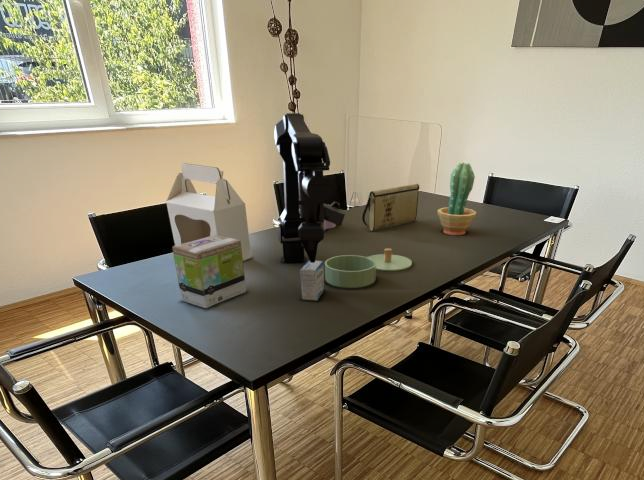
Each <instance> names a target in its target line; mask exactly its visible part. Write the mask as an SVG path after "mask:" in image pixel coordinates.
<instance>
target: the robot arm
mask: <svg viewBox="0 0 644 480" xmlns="http://www.w3.org/2000/svg"><path fill="white" fill-rule="evenodd" d="M274 125H275V126H274V131H273V139H274V145H275V146H276V149H277V151H278V154H279V155H280V157H281V159H282V168H283V169H282V170H283V193H284V195H283V196H284V209H283V211H282V212H281V214H280V216H279V223H278V229H277V238H278V239H277V240H278V242H279V243H280V244H282V256H283V259H282V262H283V263H303V262H304V260H305V258H306V257H305V254H306V256H307V258H308V259H309V260H308V261H310V262H311V263H314V262H315V261H316V258H317V254H318V253H317V251H318V245H319V243H321V242H322V241H323V240H324V238H325V231H324V226H323V223H324V220H326V221H329V222H331V223H334V224H336V227H342V224H343V223H344V219H345V216H346V212H345V210H344V209H343V208H342V209H341V206H340V205H341V204H340V203H339V202H337V201H333V202H331V204H329V203H328V204H327V203H324V202H325V201H327V200H328V199H329V198H330V196H331V194H332V184H331V182H330V180H329V179H328V178H327V177H326V176H324V171H325V172H326V171H330V166H331V159H330V155H329V151H328V146H326V142H325V141H324V140H323V138H322V137H321V136H320V135H319V134H317V133H313V132H311V130H310V128H309V127H308V125H307V124H306V122H305V116H304V114H302V113H300V112H287V113H284V114H283V115H282V119H280V120H279V121H278V122H277V123H276V124H274ZM299 209H300V212H299Z"/></svg>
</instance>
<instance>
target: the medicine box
mask: <svg viewBox="0 0 644 480" xmlns="http://www.w3.org/2000/svg"><path fill="white" fill-rule="evenodd" d="M299 271H300V287H301V289H300V290H301V300H304V301H314V302H317V301H318V300H319V299H320V297H321V296H322V294H323V293H324V292H325V268H324V261H323V260H315V262H314V263H311V262H310V260H307V262H306V263H305V264H304V265H303V266H302V267H301V269H300V270H299Z"/></svg>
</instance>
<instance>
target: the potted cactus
mask: <svg viewBox="0 0 644 480" xmlns="http://www.w3.org/2000/svg"><path fill="white" fill-rule="evenodd" d="M475 178H476V176H475V173H474V171H473V168H472V166H471V164H470V162H467V163H465V162H462V163H461V162H459V163H457V164H456V166H455V167H454V168H453V170H452V171H451V173H450V179H449V189H450V190H449V191H450V197H449V202H448V206H447V207H441V208H438V209H437V211H436V212H437V216H438V218H439V222H440V224H441V226H442V228H443V231H442V233H444V234H446V235H450V236H462V235H466V230H467V229H468V228H469V226H470V225H471V223H472V221H473V219H475V217H476V215H477V211H475V210H474V209H471V208H466V205H467V203H468V198H469V196H470V194H471V192H472V191H473V187H474V183H475Z"/></svg>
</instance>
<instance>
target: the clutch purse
mask: <svg viewBox="0 0 644 480" xmlns="http://www.w3.org/2000/svg"><path fill="white" fill-rule="evenodd" d="M419 190H420V184H419V183H415V184H408V185H402V186H397V187H396V186H395V187H390V188H385V189H384V188H383V189H377V190H372V191H370V192H369V195H368V197H367V202H366V204H365V207H364V210H363V212H362V220H361V221H362V223H363V224H364V225H365V226H367V227H369V230H370V232H373V231H378V230H382V229H385V228H390V227H394V226H398V225H402V224H403V225H404V224H407V223H411V222H416V221H417V217H418V205H419ZM367 211H368V212H369V219H368V220H369V222H368V223H369V224H367V221H366V220H365V217H366V213H367Z"/></svg>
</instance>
